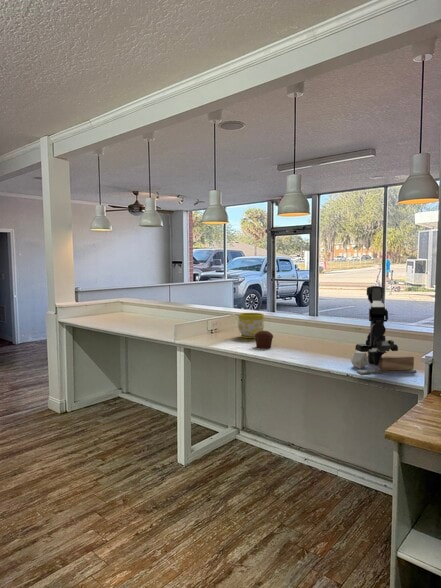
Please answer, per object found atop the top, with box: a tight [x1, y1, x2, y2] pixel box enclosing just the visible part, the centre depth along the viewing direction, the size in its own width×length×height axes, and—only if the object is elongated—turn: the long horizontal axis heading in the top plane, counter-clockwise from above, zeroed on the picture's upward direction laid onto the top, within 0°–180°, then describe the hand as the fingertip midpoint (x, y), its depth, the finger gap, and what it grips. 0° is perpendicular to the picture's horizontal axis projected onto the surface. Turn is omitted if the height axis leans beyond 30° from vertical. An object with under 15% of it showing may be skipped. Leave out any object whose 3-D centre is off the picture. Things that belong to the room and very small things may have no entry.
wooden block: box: [378, 355, 415, 371], centre depth 195 cm, size 3×16×6 cm, turn 99°
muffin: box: [254, 330, 274, 349], centre depth 254 cm, size 12×11×10 cm
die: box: [350, 350, 370, 370], centre depth 204 cm, size 8×9×10 cm
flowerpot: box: [237, 312, 265, 339], centre depth 288 cm, size 18×18×16 cm
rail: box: [356, 368, 417, 376], centre depth 195 cm, size 4×28×1 cm, turn 99°
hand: (376, 365), depth 194 cm, fingers closed
